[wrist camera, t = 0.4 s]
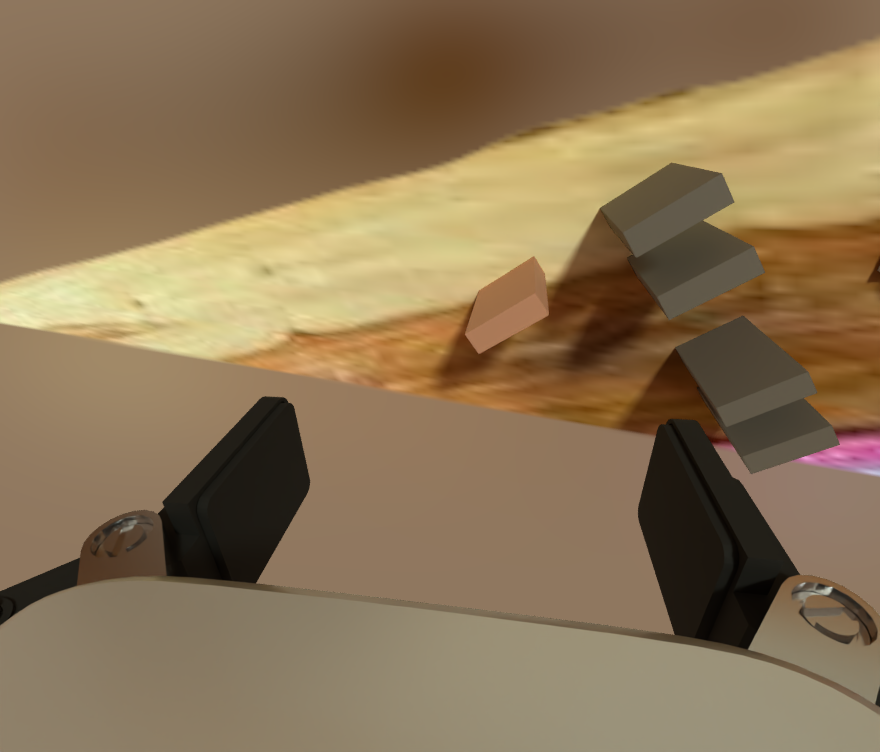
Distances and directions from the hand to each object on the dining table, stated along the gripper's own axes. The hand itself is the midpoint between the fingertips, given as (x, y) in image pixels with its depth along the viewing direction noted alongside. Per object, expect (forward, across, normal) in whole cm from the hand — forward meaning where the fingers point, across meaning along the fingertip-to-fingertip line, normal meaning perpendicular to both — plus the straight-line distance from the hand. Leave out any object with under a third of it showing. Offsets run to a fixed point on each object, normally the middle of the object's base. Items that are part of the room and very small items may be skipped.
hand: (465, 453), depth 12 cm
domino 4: (+25, -17, +7) cm, 31 cm away
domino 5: (+25, -19, +11) cm, 33 cm away
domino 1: (+26, -1, +3) cm, 26 cm away
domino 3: (+25, -12, 0) cm, 28 cm away
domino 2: (+25, -10, -3) cm, 27 cm away
